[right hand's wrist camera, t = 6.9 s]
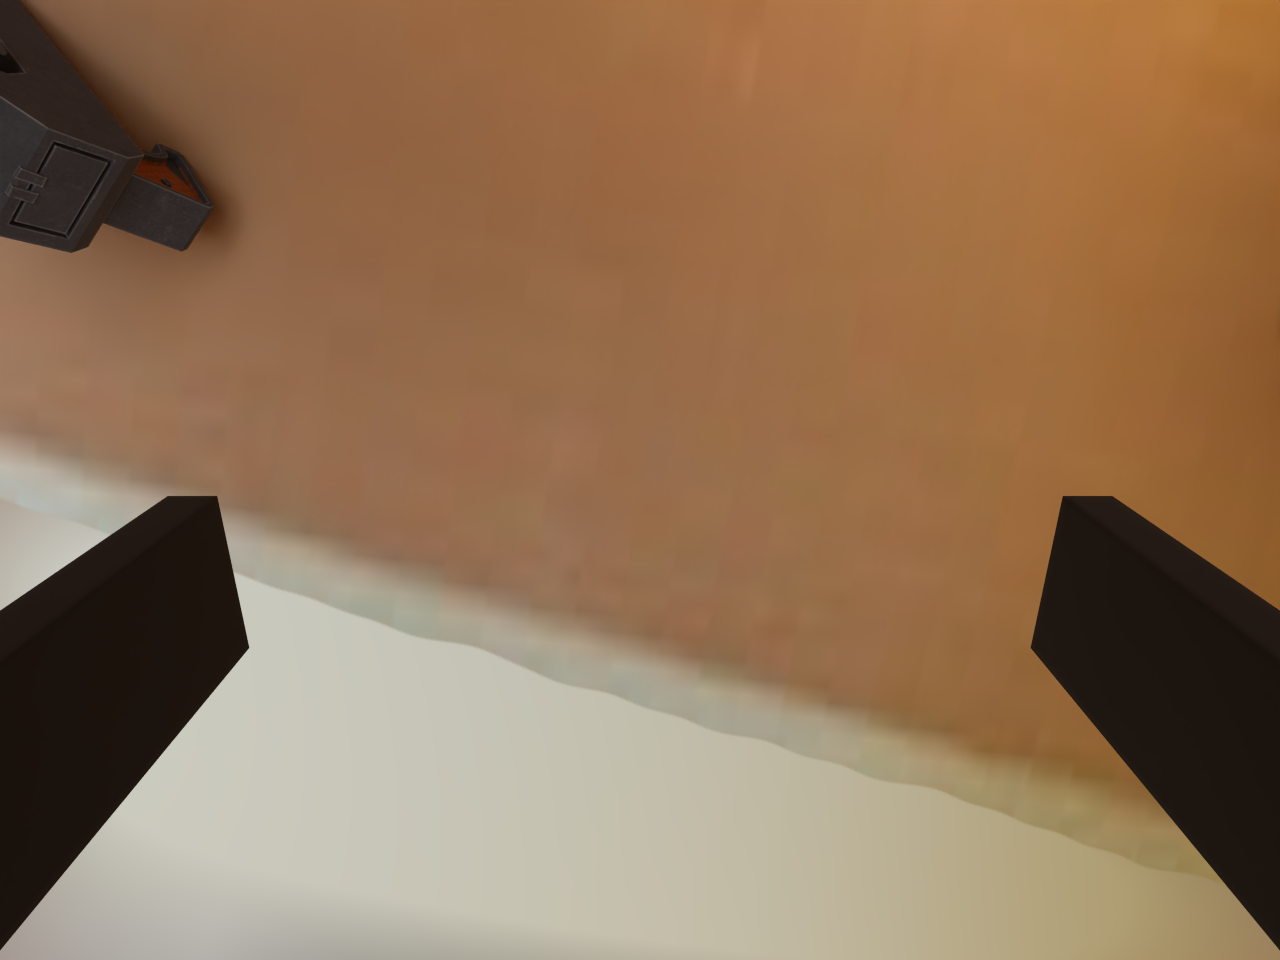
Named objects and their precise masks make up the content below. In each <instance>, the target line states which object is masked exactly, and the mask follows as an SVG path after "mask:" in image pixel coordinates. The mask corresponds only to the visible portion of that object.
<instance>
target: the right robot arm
mask: <svg viewBox="0 0 1280 960" xmlns="http://www.w3.org/2000/svg"><path fill="white" fill-rule="evenodd" d="M248 649H249V644H248V640H247V635H246V630H245V626H244V621H243V616H242V611H241V607H240V602H239V597H238V593H237V588H236V583H235V578H234V574H233V569H232V564H231V559H230V555H229V550H228V545H227V540H226V536H225V531H224V526H223V522H222V517H221V512H220V507H219V503H218V498H217V496H167V497H166V498H164V499H163V500H161V501H160V502H158V503H157V504H156V505H154V506H153V507H151V508H150V509H148V510H147V511H145V512H144V513H142V514H141V515H139V516H138V517H136V518H135V519H134V520H132V521H131V522H129V523H128V524H126V525H125V526H123V527H122V528H120V529H119V530H117V531H116V532H115V533H113V534H112V535H110V536H109V537H107V538H106V539H104V540H103V541H101V542H100V543H98V544H97V545H96V546H94V547H93V548H91V549H90V550H88V551H87V552H85V553H84V554H82V555H81V556H79V557H78V558H77V559H75V560H74V561H72V562H71V563H69V564H68V565H66V566H65V567H63V568H62V569H60V570H59V571H58V572H56V573H55V574H53V575H52V576H50V577H49V578H47V579H46V580H44V581H43V582H41V583H40V584H38V585H37V586H36V587H34V588H33V589H31V590H30V591H28V592H27V593H25V594H24V595H22V596H21V597H20V598H18V599H17V600H15V601H14V602H12V603H11V604H9V605H8V606H6V607H5V608H3V609H2V610H0V950H1V949H2V947H3V946H4V945H5V944H6V943H7V941H8V940H9V939H10V938H11V937H12V935H13V934H14V933H15V932H16V930H17V929H18V928H19V927H20V926H21V924H22V923H23V922H24V921H25V920H26V918H27V917H28V916H29V915H30V913H31V912H32V911H33V910H34V909H35V907H36V906H37V905H38V904H39V903H40V901H41V900H42V899H43V898H44V896H45V895H46V894H47V893H48V892H49V890H50V889H51V888H52V887H53V885H54V884H55V883H56V882H57V881H58V879H59V878H60V877H61V876H62V875H63V873H64V872H65V871H66V870H67V869H68V867H69V866H70V865H71V864H72V862H73V861H74V860H75V859H76V858H77V856H78V855H79V854H80V853H81V852H82V850H83V849H84V848H85V847H86V845H87V844H88V843H89V842H90V841H91V839H92V838H93V837H94V836H95V835H96V833H97V832H98V831H99V830H100V828H101V827H102V826H103V825H104V823H105V822H106V821H107V820H108V819H109V817H110V816H111V815H112V814H113V813H114V811H115V810H116V809H117V808H118V807H119V805H120V804H121V803H122V802H123V801H124V799H125V798H126V797H127V796H128V794H129V793H130V792H131V791H132V790H133V788H134V787H135V786H136V785H137V783H138V782H139V781H140V780H141V779H142V777H143V776H144V775H145V774H146V773H147V771H148V770H149V769H150V768H151V767H152V765H153V764H154V763H155V762H156V760H157V759H158V758H159V757H160V756H161V754H162V753H163V752H164V751H165V749H166V748H167V747H168V746H169V745H170V743H171V742H172V741H173V740H174V739H175V737H176V736H177V735H178V734H179V733H180V731H181V730H182V729H183V728H184V726H185V725H186V724H187V723H188V722H189V720H190V719H191V718H192V717H193V715H194V714H195V713H196V712H197V711H198V709H199V708H200V707H201V706H202V705H203V703H204V702H205V701H206V700H207V699H208V697H209V696H210V695H211V694H212V692H213V691H214V690H215V689H216V688H217V686H218V685H219V684H220V683H221V681H222V680H223V679H224V678H225V677H226V675H227V674H228V673H229V672H230V671H231V669H232V668H233V667H234V666H235V665H236V663H237V662H238V661H239V660H240V658H241V657H242V656H243V655H244V653H245V652H246V651H247V650H248ZM1031 649H1032V650H1033V651H1034V652H1035V654H1036V655H1037V656H1038V657H1039V658H1040V660H1041V661H1042V662H1043V663H1044V665H1045V666H1046V667H1047V668H1048V669H1049V671H1050V672H1051V673H1052V674H1053V675H1054V677H1055V678H1056V679H1057V680H1058V682H1059V683H1060V684H1061V685H1062V686H1063V688H1064V689H1065V690H1066V691H1067V692H1068V694H1069V695H1070V696H1071V697H1072V699H1073V700H1074V701H1075V702H1076V703H1077V705H1078V706H1079V707H1080V708H1081V709H1082V711H1083V712H1084V713H1085V714H1086V716H1087V717H1088V718H1089V719H1090V720H1091V722H1092V723H1093V724H1094V725H1095V726H1096V728H1097V729H1098V730H1099V731H1100V733H1101V734H1102V735H1103V736H1104V737H1105V739H1106V740H1107V741H1108V742H1109V743H1110V745H1111V746H1112V747H1113V748H1114V750H1115V751H1116V752H1117V753H1118V754H1119V756H1120V757H1121V758H1122V759H1123V760H1124V762H1125V763H1126V764H1127V765H1128V767H1129V768H1130V769H1131V770H1132V771H1133V773H1134V774H1135V775H1136V776H1137V777H1138V779H1139V780H1140V781H1141V782H1142V784H1143V785H1144V786H1145V787H1146V788H1147V790H1148V791H1149V792H1150V793H1151V794H1152V796H1153V797H1154V798H1155V799H1156V801H1157V802H1158V803H1159V804H1160V805H1161V807H1162V808H1163V809H1164V810H1165V811H1166V813H1167V814H1168V815H1169V816H1170V818H1171V819H1172V820H1173V821H1174V822H1175V824H1176V825H1177V826H1178V827H1179V828H1180V830H1181V831H1182V832H1183V833H1184V835H1185V836H1186V837H1187V838H1188V839H1189V841H1190V842H1191V843H1192V844H1193V845H1194V847H1195V848H1196V849H1197V850H1198V852H1199V853H1200V854H1201V855H1202V856H1203V858H1204V859H1205V860H1206V861H1207V862H1208V864H1209V865H1210V866H1211V867H1212V869H1213V870H1214V871H1215V872H1216V873H1217V875H1218V876H1219V877H1220V878H1221V879H1222V881H1223V882H1224V883H1225V884H1226V886H1227V887H1228V888H1229V889H1230V890H1231V892H1232V893H1233V894H1234V895H1235V896H1236V898H1237V899H1238V900H1239V901H1240V902H1241V904H1242V905H1243V906H1244V907H1245V909H1246V910H1247V911H1248V912H1249V913H1250V915H1251V916H1252V917H1253V918H1254V920H1255V921H1256V922H1257V923H1258V924H1259V926H1260V927H1261V928H1262V929H1263V930H1264V932H1265V933H1266V934H1267V935H1268V937H1269V938H1270V939H1271V940H1272V941H1273V943H1274V944H1275V945H1276V946H1277V947H1278V949H1279V950H1280V610H1278V609H1277V608H1275V607H1274V606H1272V605H1271V604H1269V603H1268V602H1266V601H1265V600H1263V599H1262V598H1261V597H1259V596H1258V595H1256V594H1255V593H1253V592H1252V591H1250V590H1249V589H1247V588H1246V587H1244V586H1243V585H1242V584H1240V583H1239V582H1237V581H1236V580H1234V579H1233V578H1231V577H1230V576H1228V575H1227V574H1225V573H1224V572H1222V571H1221V570H1220V569H1218V568H1217V567H1215V566H1214V565H1212V564H1211V563H1209V562H1208V561H1206V560H1205V559H1203V558H1202V557H1201V556H1199V555H1198V554H1196V553H1195V552H1193V551H1192V550H1190V549H1189V548H1187V547H1186V546H1184V545H1183V544H1182V543H1180V542H1179V541H1177V540H1176V539H1174V538H1173V537H1171V536H1170V535H1168V534H1167V533H1165V532H1164V531H1163V530H1161V529H1160V528H1158V527H1157V526H1155V525H1154V524H1152V523H1151V522H1149V521H1148V520H1146V519H1145V518H1143V517H1142V516H1141V515H1139V514H1138V513H1136V512H1135V511H1133V510H1132V509H1130V508H1129V507H1127V506H1126V505H1124V504H1123V503H1122V502H1120V501H1119V500H1117V499H1116V498H1114V497H1113V496H1063V498H1062V503H1061V507H1060V512H1059V517H1058V522H1057V526H1056V531H1055V536H1054V540H1053V545H1052V550H1051V555H1050V559H1049V564H1048V569H1047V574H1046V578H1045V583H1044V588H1043V592H1042V597H1041V602H1040V607H1039V611H1038V616H1037V621H1036V625H1035V630H1034V635H1033V640H1032V644H1031Z"/></svg>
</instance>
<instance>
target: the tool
mask: <svg viewBox="0 0 1280 960" xmlns="http://www.w3.org/2000/svg"><path fill="white" fill-rule="evenodd" d="M214 207H215V205H214V204H213V202H212V201H211V199H210V197H209V196H208V194H207V193H206V191H205V189H204V188H203V186H202V185H201V183H200V182H199V180H198V178H197V177H196V175H195V174H194V172H193V171H192V169H191V167H190V166H189V164H188V163H187V161H186V160H185V158H184V156H183V155H181V154H180V153H179V152H176V151H174V150H172V149H170V148H168V147H165V146H163V145H161V144H159V143H157V144H156V145H155V147H154V148H153V150H152V152H147V151H143V150H140V149H139V148H138V147H137V146H136V144H135V143H134V142H133V141H132V139H131V138H130V137H129V136H128V135H127V133H126V132H125V131H124V130H123V128H122V127H121V126H120V125H119V124H118V122H117V121H116V120H115V119H114V117H113V116H112V115H111V114H110V113H109V111H108V110H107V109H106V108H105V106H104V105H103V104H102V103H101V102H100V100H99V99H98V98H97V97H96V95H95V94H94V93H93V92H92V90H91V89H90V88H89V87H88V86H87V84H86V83H85V82H84V81H83V79H82V78H81V77H80V76H79V75H78V73H77V72H76V71H75V70H74V68H73V67H72V66H71V65H70V64H69V62H68V61H67V60H66V59H65V57H64V56H63V55H62V54H61V53H60V51H59V50H58V49H57V48H56V46H55V45H54V44H53V43H52V42H51V40H50V39H49V38H48V37H47V35H46V34H45V33H44V32H43V31H42V29H41V28H40V27H39V26H38V24H37V23H36V22H35V21H34V19H33V18H32V17H31V16H30V15H29V13H28V12H27V11H26V10H25V8H24V7H23V6H22V5H21V4H20V2H19V1H18V0H0V236H1V237H6V238H10V239H14V240H19V241H23V242H27V243H31V244H36V245H40V246H44V247H49V248H53V249H57V250H61V251H66V252H70V253H72V252H75V251H78V250H81V249H83V248H86V247H88V246H89V244H90V243H91V241H92V240H93V238H94V236H95V235H96V233H97V231H98V230H99V228H100V227H101V225H102V223H104V224H107V225H110V226H113V227H115V228H118V229H121V230H124V231H126V232H129V233H132V234H135V235H137V236H140V237H143V238H146V239H148V240H151V241H154V242H157V243H159V244H162V245H165V246H168V247H170V248H173V249H176V250H179V251H184V250H186V249H187V248H188V247H189V245H190V244H191V242H192V241H193V239H194V238H195V236H196V235H197V233H198V232H199V230H200V229H201V227H202V226H203V224H204V223H205V221H206V220H207V218H208V217H209V215H210V214H211V212H212V210H213V209H214Z"/></svg>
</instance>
